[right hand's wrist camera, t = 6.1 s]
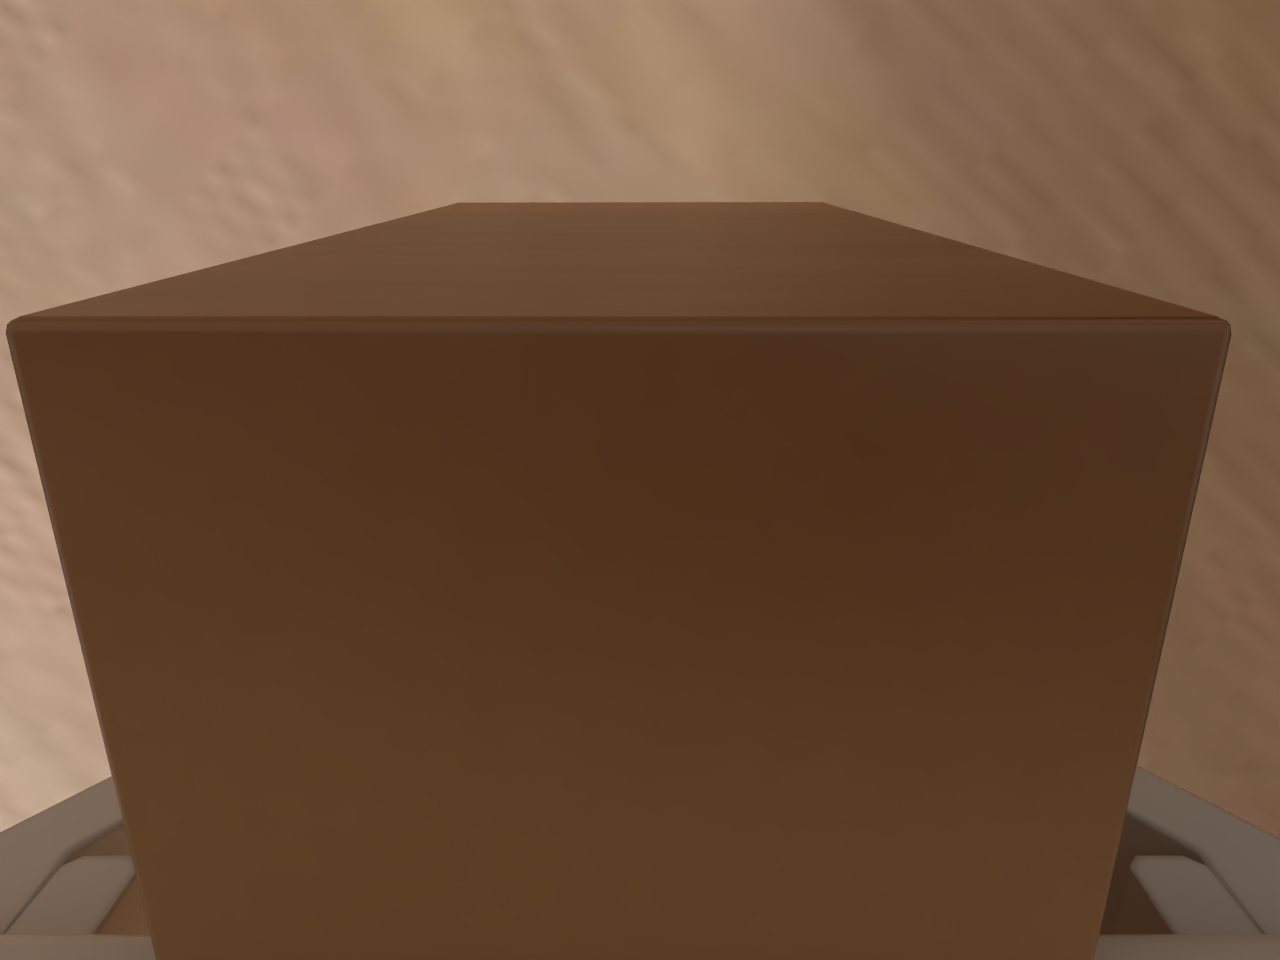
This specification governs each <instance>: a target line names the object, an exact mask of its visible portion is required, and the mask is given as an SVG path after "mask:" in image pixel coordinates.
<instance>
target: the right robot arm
mask: <svg viewBox="0 0 1280 960" xmlns="http://www.w3.org/2000/svg"><path fill="white" fill-rule="evenodd" d="M0 960H156V957H155V953H154V949H153V945H152V941H151V937H150V932H149V928H148V924H147V920H146V916H145V912H144V907H143V903H142V899H141V895H140V891H139V887H138V882H137V878H136V874H135V870H134V866H133V862H132V857H131V853H130V849H129V845H128V841H127V836H126V832H125V828H124V824H123V820H122V816H121V811H120V807H119V803H118V799H117V795H116V791H115V786H114V782H113V778H112V776H111V777H109V778H107V779H105V780H103V781H102V782H100V783H98V784H96V785H94V786H92V787H90V788H88V789H86V790H84V791H82V792H80V793H78V794H76V795H74V796H72V797H70V798H68V799H66V800H64V801H62V802H60V803H58V804H56V805H54V806H52V807H50V808H48V809H46V810H44V811H42V812H40V813H38V814H36V815H34V816H32V817H30V818H28V819H26V820H24V821H22V822H20V823H18V824H16V825H14V826H12V827H10V828H8V829H6V830H4V831H2V832H0ZM1094 960H1280V839H1279V838H1277V837H1275V836H1274V835H1272V834H1270V833H1268V832H1266V831H1264V830H1262V829H1260V828H1258V827H1256V826H1254V825H1252V824H1250V823H1248V822H1246V821H1244V820H1242V819H1240V818H1238V817H1236V816H1234V815H1232V814H1231V813H1229V812H1227V811H1225V810H1223V809H1221V808H1219V807H1217V806H1215V805H1213V804H1211V803H1209V802H1207V801H1205V800H1203V799H1201V798H1199V797H1197V796H1195V795H1193V794H1191V793H1189V792H1187V791H1186V790H1184V789H1182V788H1180V787H1178V786H1176V785H1174V784H1172V783H1170V782H1168V781H1166V780H1164V779H1162V778H1160V777H1158V776H1156V775H1154V774H1152V773H1150V772H1148V771H1146V770H1144V769H1143V768H1141V767H1139V766H1137V765H1136V770H1135V774H1134V779H1133V783H1132V788H1131V792H1130V797H1129V802H1128V806H1127V811H1126V815H1125V820H1124V824H1123V829H1122V833H1121V838H1120V842H1119V847H1118V852H1117V856H1116V861H1115V865H1114V870H1113V874H1112V879H1111V883H1110V888H1109V892H1108V897H1107V902H1106V906H1105V911H1104V915H1103V920H1102V924H1101V929H1100V933H1099V938H1098V942H1097V947H1096V952H1095V956H1094Z"/></svg>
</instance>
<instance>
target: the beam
mask: <svg viewBox="0 0 1280 960" xmlns="http://www.w3.org/2000/svg"><path fill="white" fill-rule="evenodd" d="M6 336H7V340H8V344H9V348H10V353H11V357H12V361H13V365H14V369H15V373H16V378H17V382H18V386H19V390H20V394H21V398H22V403H23V407H24V411H25V415H26V419H27V424H28V428H29V432H30V436H31V440H32V444H33V449H34V453H35V457H36V461H37V465H38V469H39V474H40V478H41V482H42V486H43V490H44V494H45V499H46V503H47V507H48V511H49V515H50V519H51V524H52V528H53V532H54V536H55V540H56V544H57V549H58V553H59V557H60V561H61V565H62V570H63V574H64V578H65V582H66V586H67V590H68V595H69V599H70V603H71V607H72V611H73V615H74V620H75V624H76V628H77V632H78V636H79V640H80V645H81V649H82V653H83V657H84V661H85V665H86V670H87V674H88V678H89V682H90V686H91V690H92V695H93V699H94V703H95V707H96V711H97V716H98V720H99V724H100V728H101V732H102V736H103V741H104V745H105V749H106V753H107V757H108V761H109V766H110V770H111V774H112V778H113V782H114V786H115V791H116V795H117V799H118V803H119V807H120V811H121V816H122V820H123V824H124V828H125V832H126V836H127V841H128V845H129V849H130V853H131V857H132V862H133V866H134V870H135V874H136V878H137V882H138V887H139V891H140V895H141V899H142V903H143V907H144V912H145V916H146V920H147V924H148V928H149V932H150V937H151V941H152V945H153V949H154V953H155V957H156V960H1094V956H1095V952H1096V947H1097V942H1098V938H1099V933H1100V929H1101V924H1102V920H1103V915H1104V911H1105V906H1106V902H1107V897H1108V892H1109V888H1110V883H1111V879H1112V874H1113V870H1114V865H1115V861H1116V856H1117V852H1118V847H1119V842H1120V838H1121V833H1122V829H1123V824H1124V820H1125V815H1126V811H1127V806H1128V802H1129V797H1130V792H1131V788H1132V783H1133V779H1134V774H1135V770H1136V765H1137V761H1138V756H1139V752H1140V747H1141V742H1142V738H1143V733H1144V729H1145V724H1146V720H1147V715H1148V711H1149V706H1150V702H1151V697H1152V692H1153V688H1154V683H1155V679H1156V674H1157V670H1158V665H1159V661H1160V656H1161V652H1162V647H1163V642H1164V638H1165V633H1166V629H1167V624H1168V620H1169V615H1170V611H1171V606H1172V602H1173V597H1174V592H1175V588H1176V583H1177V579H1178V574H1179V570H1180V565H1181V561H1182V556H1183V552H1184V547H1185V542H1186V538H1187V533H1188V529H1189V524H1190V520H1191V515H1192V511H1193V506H1194V502H1195V497H1196V492H1197V488H1198V483H1199V479H1200V474H1201V470H1202V465H1203V461H1204V456H1205V452H1206V447H1207V442H1208V438H1209V433H1210V429H1211V424H1212V420H1213V415H1214V411H1215V406H1216V402H1217V397H1218V393H1219V388H1220V383H1221V379H1222V374H1223V370H1224V365H1225V361H1226V356H1227V352H1228V347H1229V343H1230V338H1231V328H1230V324H1229V323H1228V322H1227V321H1226V320H1223V319H1221V318H1219V317H1217V316H1213V315H1210V314H1206V313H1203V312H1199V311H1196V310H1192V309H1189V308H1186V307H1182V306H1179V305H1175V304H1172V303H1168V302H1165V301H1161V300H1158V299H1154V298H1151V297H1148V296H1144V295H1141V294H1137V293H1134V292H1130V291H1127V290H1123V289H1120V288H1116V287H1113V286H1110V285H1106V284H1103V283H1099V282H1096V281H1092V280H1089V279H1085V278H1082V277H1079V276H1075V275H1072V274H1068V273H1065V272H1061V271H1058V270H1054V269H1051V268H1047V267H1044V266H1041V265H1037V264H1034V263H1030V262H1027V261H1023V260H1020V259H1016V258H1013V257H1009V256H1006V255H1003V254H999V253H996V252H992V251H989V250H985V249H982V248H978V247H975V246H972V245H968V244H965V243H961V242H958V241H954V240H951V239H947V238H944V237H940V236H937V235H934V234H930V233H927V232H923V231H920V230H916V229H913V228H909V227H906V226H902V225H899V224H896V223H892V222H889V221H885V220H882V219H878V218H875V217H871V216H868V215H865V214H861V213H858V212H854V211H851V210H847V209H844V208H840V207H837V206H833V205H830V204H827V203H823V202H654V203H456V204H452V205H449V206H445V207H441V208H437V209H433V210H429V211H425V212H421V213H418V214H414V215H410V216H406V217H402V218H398V219H394V220H391V221H387V222H383V223H379V224H375V225H371V226H367V227H364V228H360V229H356V230H352V231H348V232H344V233H340V234H337V235H333V236H329V237H325V238H321V239H317V240H313V241H309V242H306V243H302V244H298V245H294V246H290V247H286V248H282V249H279V250H275V251H271V252H267V253H263V254H259V255H255V256H252V257H248V258H244V259H240V260H236V261H232V262H228V263H224V264H221V265H217V266H213V267H209V268H205V269H201V270H197V271H194V272H190V273H186V274H182V275H178V276H174V277H170V278H167V279H163V280H159V281H155V282H151V283H147V284H143V285H139V286H136V287H132V288H128V289H124V290H120V291H116V292H112V293H109V294H105V295H101V296H97V297H93V298H89V299H85V300H82V301H78V302H74V303H70V304H66V305H62V306H58V307H55V308H51V309H47V310H43V311H39V312H35V313H31V314H27V315H24V316H20V317H18V318H16V319H14V320H11V321H10V322H9V323H8V324H7V330H6Z"/></svg>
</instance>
